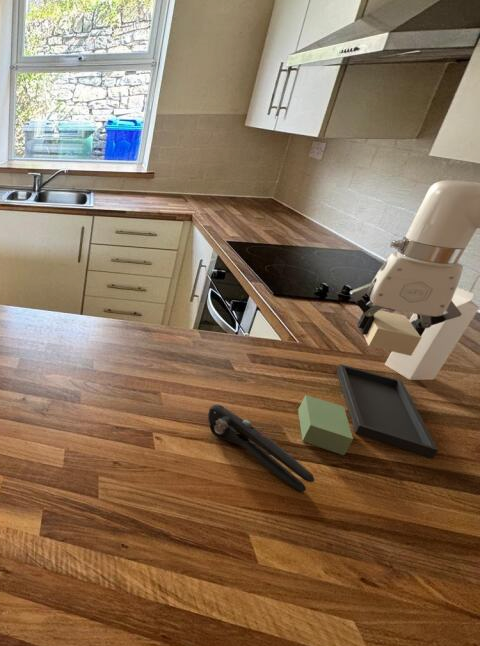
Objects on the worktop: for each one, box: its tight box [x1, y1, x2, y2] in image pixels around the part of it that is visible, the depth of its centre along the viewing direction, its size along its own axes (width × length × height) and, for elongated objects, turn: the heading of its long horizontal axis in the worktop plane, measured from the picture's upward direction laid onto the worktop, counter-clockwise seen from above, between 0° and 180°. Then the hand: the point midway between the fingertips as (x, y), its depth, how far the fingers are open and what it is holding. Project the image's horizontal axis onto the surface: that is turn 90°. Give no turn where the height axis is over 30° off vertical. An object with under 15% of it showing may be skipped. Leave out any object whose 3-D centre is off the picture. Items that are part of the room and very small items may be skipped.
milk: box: [384, 287, 480, 381], centre depth 90 cm, size 6×6×22 cm
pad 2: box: [362, 310, 421, 356], centre depth 79 cm, size 6×10×4 cm, turn 147°
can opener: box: [207, 404, 315, 492], centre depth 70 cm, size 18×7×6 cm, turn 23°
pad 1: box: [297, 394, 354, 456], centre depth 76 cm, size 6×10×4 cm, turn 147°
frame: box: [336, 363, 439, 459], centre depth 83 cm, size 11×24×2 cm, turn 147°
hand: (384, 335), depth 80 cm, fingers closed on pad 2, 6 cm apart
